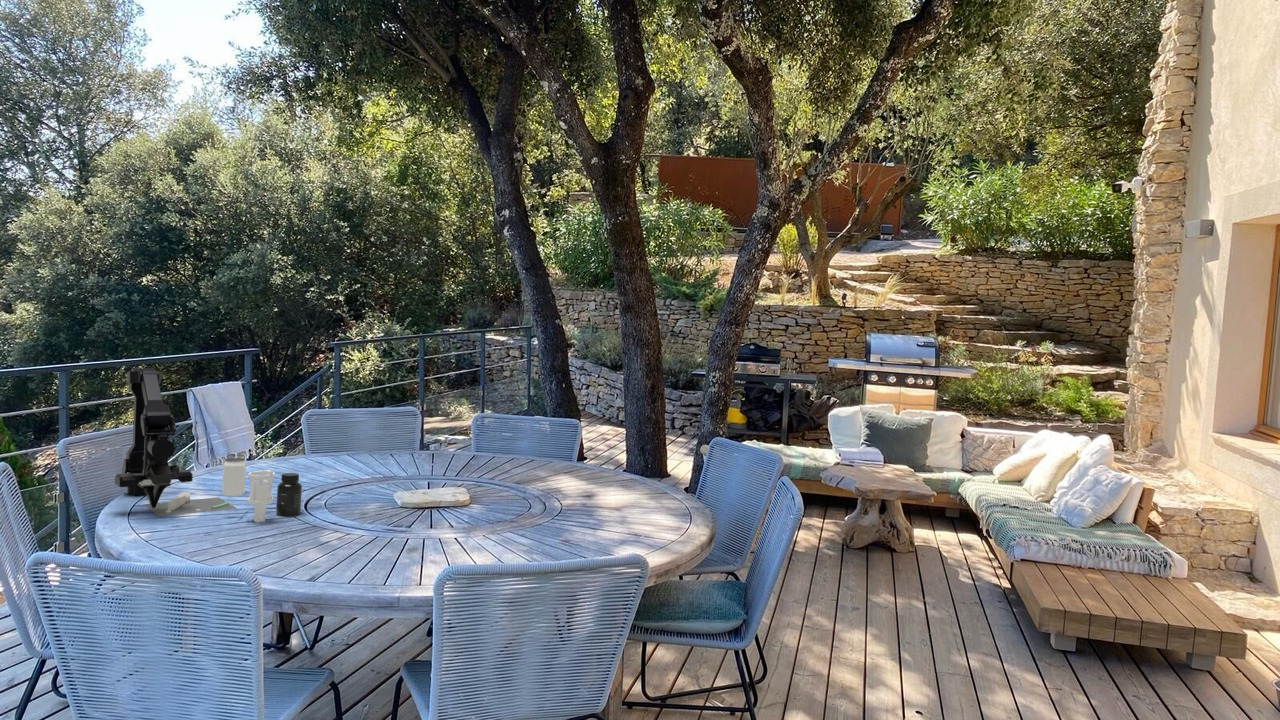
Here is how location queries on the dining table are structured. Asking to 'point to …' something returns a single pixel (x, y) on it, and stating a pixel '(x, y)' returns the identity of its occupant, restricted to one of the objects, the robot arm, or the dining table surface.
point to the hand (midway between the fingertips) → (153, 507)
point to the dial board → (192, 507)
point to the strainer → (260, 492)
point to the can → (234, 477)
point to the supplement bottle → (289, 495)
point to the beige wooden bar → (178, 501)
